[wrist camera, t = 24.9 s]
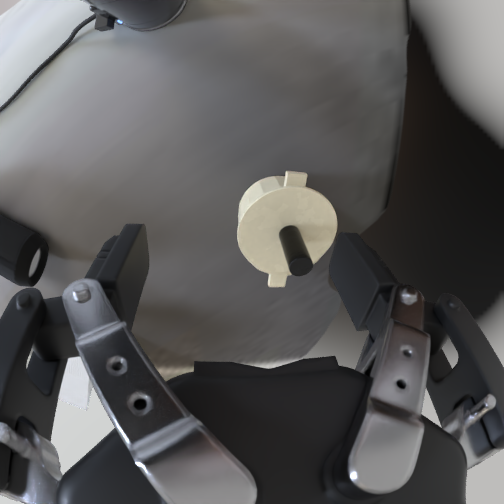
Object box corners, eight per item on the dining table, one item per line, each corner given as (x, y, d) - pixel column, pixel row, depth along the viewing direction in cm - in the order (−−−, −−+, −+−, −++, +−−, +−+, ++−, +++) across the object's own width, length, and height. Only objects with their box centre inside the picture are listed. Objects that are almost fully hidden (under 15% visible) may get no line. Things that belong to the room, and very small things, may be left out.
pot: (234, 256, 45) (237, 290, 38) (243, 154, 36) (249, 171, 29) (301, 258, 47) (314, 290, 40) (321, 162, 38) (344, 181, 31)
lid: (228, 261, 36) (231, 302, 31) (250, 173, 29) (258, 205, 23) (313, 270, 39) (328, 308, 33) (349, 195, 32) (375, 227, 26)
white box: (94, 380, 65) (87, 410, 56) (62, 367, 61) (53, 397, 52) (104, 319, 51) (91, 359, 42) (61, 300, 47) (43, 338, 38)
